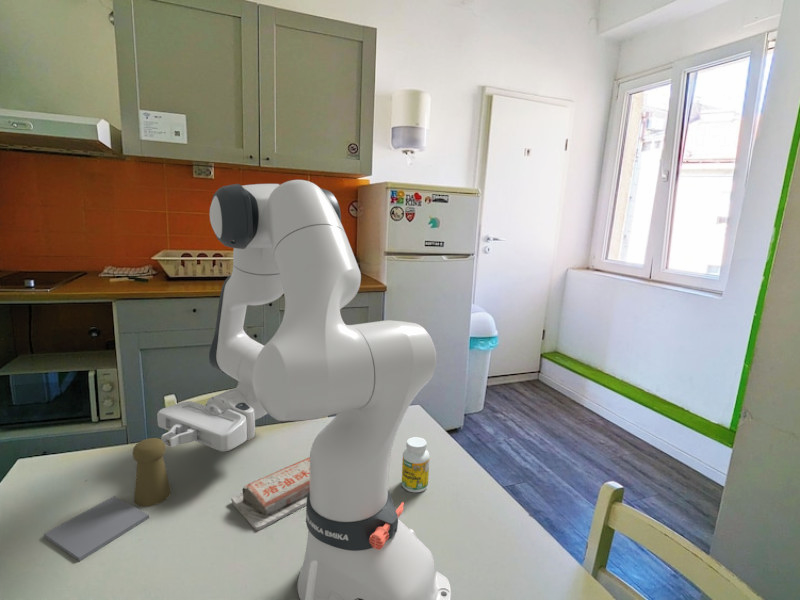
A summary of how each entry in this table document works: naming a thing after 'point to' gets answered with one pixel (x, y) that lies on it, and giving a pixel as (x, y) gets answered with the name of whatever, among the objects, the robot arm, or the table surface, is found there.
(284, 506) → the packaged product
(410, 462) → the supplement bottle
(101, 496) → the table surface
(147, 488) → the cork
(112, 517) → the mat
